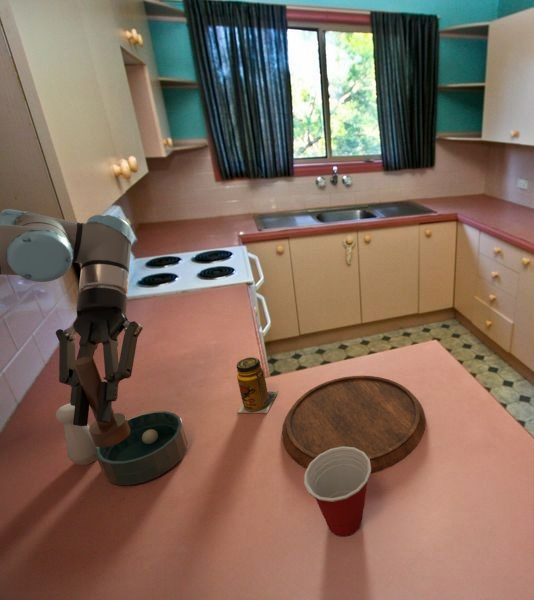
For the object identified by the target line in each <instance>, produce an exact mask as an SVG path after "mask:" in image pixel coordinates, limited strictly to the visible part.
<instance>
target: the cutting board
mask: <svg viewBox="0 0 534 600" xmlns="http://www.w3.org/2000/svg"><path fill="white" fill-rule="evenodd" d="M425 427H426V415H425V411H424V408H423V405H422V403H421V402H420V401H419V399H418V398H417V397H416V396H415V395H414V394H413V393H412V392H411V391H410V390H409V389H408V388H407V387H406V386H404V385H402V384H401V383H399V382H397V381H394V380H391V379H389V378H386V377H385V378H384V377H380V376H374V375H351V376H343V377H339V378H334V379H331V380H328V381H325V382H323V383H320V384H318V385H316V386H315V387H312V388H311V389H309V390H308V391H306V392H305V393H304V394H302V395H301V396H300V397H299V398H298V399H297V400H296V401H295V402H294V404H292V406H291V408H290V409H289V410H288V412H287V414H286V416H285V418H284V420H283V423H282V430H281V437H282V443H283V446H284V449H285V450H286V452H287V454H288V455H289V456H290V458H291V459H292V460H293V461H294V462H296V464H298V465H300V466H301V467H303V468H304V469H306V470H307V468H308V466H309V464H310V463H311V462H312V461H313V460H314V459H315V458H316V457H317V456H318V455H320V454H321V453H323V452H325V451H327V450H329V449H333V448H338V447H354V448H356V449H358V450H360V451H363V452H364V453H365V454H366V456H367V457H368V458H369V459H370V465H371V473H370V475H372V474H374V473H377V472H381V471H383V470H386V469H388V468H390V467H392V466H395V465H396V464H398V463H400V462H401V461H402V460H405V458H407V456H409V455H410V454H411V453H412V452H413V451H414V450H415V449H416V447H418V445H419V443H420V442H421V440H422V438H423V436H424V432H425Z"/></svg>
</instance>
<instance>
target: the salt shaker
mask: <svg viewBox="0 0 534 600" xmlns="http://www.w3.org/2000/svg"><path fill="white" fill-rule="evenodd" d="M74 410H75V406H72V405H71V404H70V403H67V404H63V405H62V406H60V407H59V408H58V409H57V410H56V412H55V418H56V420H57V422H59V423H61V424H62V425H63V430H64V438H65V439H64V440H65V445H66V452H67V457H68V459H69V461H71V462H73V463H74V464H75V465H77V466H88V465H90V464H92V463H93V462H96V461H98V459H97V457H96V446H95V444H94V442H93V439H92V437H91V435H90V432H89V427H90V426H91V425H89V423H88V424H87V426H77V425H73V419H74Z"/></svg>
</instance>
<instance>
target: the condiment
mask: <svg viewBox="0 0 534 600" xmlns="http://www.w3.org/2000/svg"><path fill="white" fill-rule="evenodd" d="M236 372H237V374H236V378H237V379H236V380H237V384H238V387H239V392H240V396H241V401H242V404H241V405H240V407H239V409H238V410H237V413H238V414H239V413H240V414H241V413H242V414H263V413H264V414H267V413H268V412H269V410H270V409H271V406H272V405H273V403H274V401H275V400H276V397H277V395H278V393H279V390H275V391H274V390H273V391H272V390H271V391H268V386H267V381H266V377H265V371H264V368H262V365H261V361H260V359H259V358H257V357H253V356H252V357H246V358H243V359H241V360H239V361H238V362H237V364H236Z"/></svg>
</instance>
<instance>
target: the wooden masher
mask: <svg viewBox="0 0 534 600" xmlns="http://www.w3.org/2000/svg"><path fill="white" fill-rule="evenodd" d="M73 365H74V367H75V370H76V372H77V375H78V377H79V380H80V382H81V385H82V387H83V390H84V392H85V395H86V397H87V400H88V402H89V408H90V409H91V412H92V415H93V417H94V419H95V421H93V422H92V423H91V425H89V426H90V427H89V432H90V435H91V437H92V439H93V442H94V444H95V446H97V447H101V448H104V447H110V446H113V445H116V444H118V443H120V442H122V441H123V440H124V439H126V438H127V437H128V435H129V434H130V431H131V430H130V427H129V424H128V422H127V419H128V418H127V416H126V415H125V414H124V413H119V412H117V413H116V412H114V409H113V406H112V405H111V418H110V422H109V423H102V422H97V413H98V401H99V389H100V382H103V379H102V377H101V374H100V372H99V369H98V366H97V363H96V361H95V357H94V356H93V357H92V356H86V357H82V358H79V359H77V358H76V359H75V361H74V362H73Z"/></svg>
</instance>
